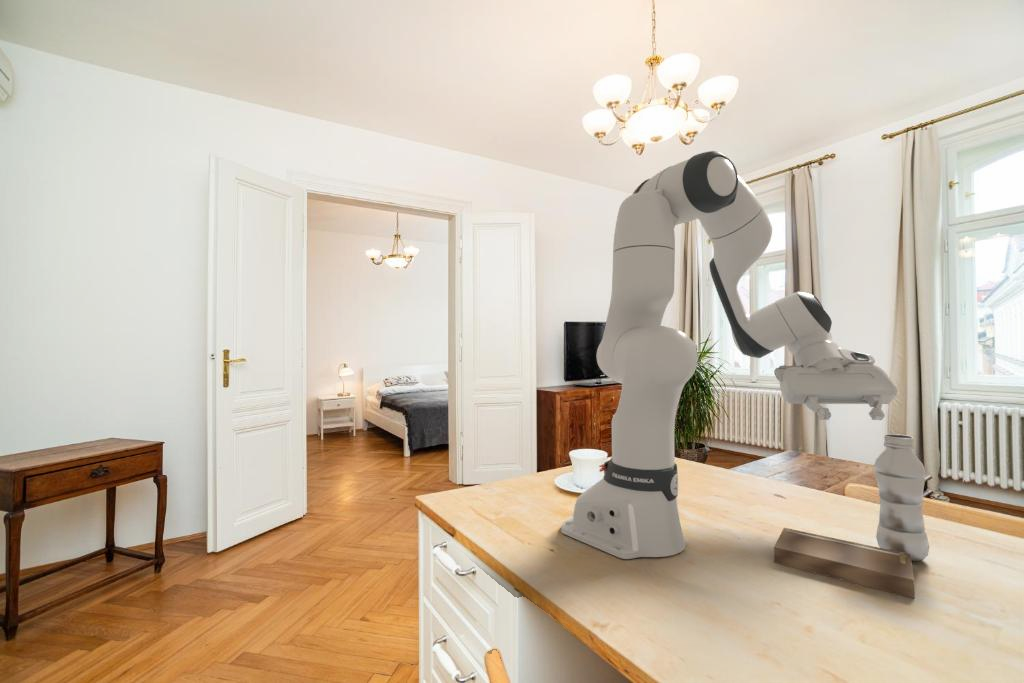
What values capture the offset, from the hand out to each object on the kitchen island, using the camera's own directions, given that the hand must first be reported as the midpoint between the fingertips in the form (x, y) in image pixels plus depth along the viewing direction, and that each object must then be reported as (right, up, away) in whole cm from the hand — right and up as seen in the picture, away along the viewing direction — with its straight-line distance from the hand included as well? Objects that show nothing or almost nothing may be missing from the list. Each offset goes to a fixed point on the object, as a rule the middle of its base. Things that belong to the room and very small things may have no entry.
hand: (852, 418), depth 86 cm
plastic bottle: (-1, -21, -12) cm, 25 cm away
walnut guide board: (-14, -21, -15) cm, 29 cm away
